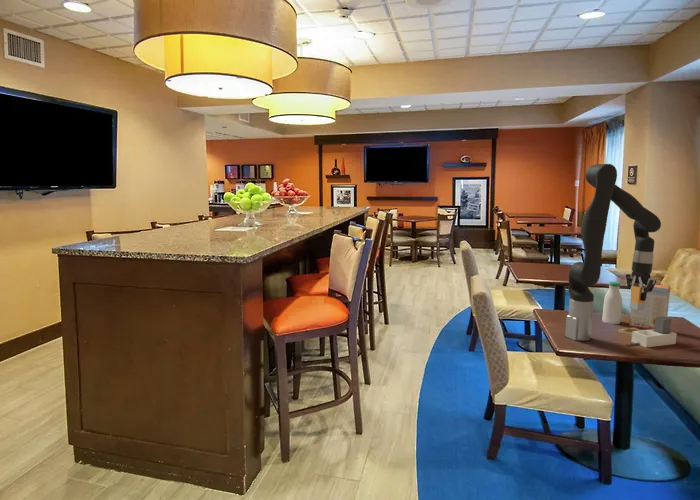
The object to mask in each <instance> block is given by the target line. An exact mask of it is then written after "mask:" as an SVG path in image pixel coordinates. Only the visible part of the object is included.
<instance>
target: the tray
mask: <svg viewBox="0 0 700 500" xmlns="http://www.w3.org/2000/svg"><path fill="white" fill-rule="evenodd" d="M642 330H643V329H641V328H640V329H639V328H638V327H629V328H619V329H618V333H621V334H622V335H626V336H629V337H630V338H632V331H642Z"/></svg>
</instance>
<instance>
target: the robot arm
mask: <svg viewBox="0 0 700 500" xmlns="http://www.w3.org/2000/svg"><path fill="white" fill-rule="evenodd" d="M584 173H585V175H584V177H585V181H586V183H588V184H589V185H590V186H592V187H593V188H594V189H595V190H594V196H593V198H592V201H591V202H590V204H589V206H588V207H587V209H586V210H585V212H584V214H583V215H582V220H581V227H580V236H581V239H582V243H583V247H584V254H585V255H584V260H583V261H584V262H582V261H576V262H575V263H573V264H572V265H571V267H570V269H569V271H568V272H569V273H568V293H569V303H568V305H569V306H568V315H566V320H565V331H564V332H565V334H564V336H565V337H567V338H569V339H571V340H573V341H581V342H582V341H583V342H584V341H590V340H591V335H592V334H591V333H592V321H593V312H594V311H593V310H594V299H595V295H594V293H593V292H592V290H590V287H593V286H594V285H595V286H596V285H597V283H598V282H599V279H600V277H601V271H602V270H601V268H602V254H603V253H602V251H603V245H604V239H605V234H606V230H607V225H608V223H607V222H608V216H609V212H610V211H609V210H610V206H611V202H613V204H614V205H616V206H617V207H618V208H619V209H620V211H622V213H624V214H625V216H627V218H629V219H631V220H634V221H633V224H632V226H633V233H634V240H635V245H634V251H633V254H632V255H633V256H632V264H631V274H629V273H627V274H625V279H626V285H627V288H629V289H630V293H631V292H632V286H639V285H640V287H641V297H640V301H645V300H646V296H647V292H652V290H653V288H654V286H655V285H657V284H656V283H657V280H656V279H653V278H652V277H651V274H652V272H653V263H654V250H655V240H654V238H652V237H651V236H650V233H657V232H658V231H659V230H660V229H661V227H662V221H661V219H660V218H659V217H658V215H656V214H655V213H653V212H652V211H650V210H649V209H647V208H646V207H644V206H643V204H641V202H640V201H639V200H638V199H637V198H636V197H635V196H633V195H632V194H631V193H629V192H627V191H626V190H624V189H622V188H621V187H620V186H618V185H617V179H618V171H617V168H616V166H615V165H613V164H612V163H600V164H599V163H598V164H592V165H590V166H589V167H588V168H587V169H586V170H585V172H584ZM644 284H645V285H644ZM644 288H645V290H644Z"/></svg>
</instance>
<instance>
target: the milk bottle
mask: <svg viewBox="0 0 700 500" xmlns="http://www.w3.org/2000/svg"><path fill="white" fill-rule="evenodd" d="M608 287H609V288H608V290H607V292H606V293H605V296H604V297H603V298H604V299H603V306H602V307H603V308H602V318H601V320H602V322H603V323H606V324H610V325H618V324H620V323H621V320H622V319H621V317H622V309H623V307H622V306H623V298H622V295H621V291H620V288H621V282H617V281H610V282H608Z"/></svg>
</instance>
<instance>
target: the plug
mask: <svg viewBox="0 0 700 500" xmlns="http://www.w3.org/2000/svg"><path fill="white" fill-rule="evenodd" d="M644 290H645V288H644ZM640 297H641V287H640V286H632V292H631V291H630V301H629V308H630V309H631V308H632V309H635V310H644V309H645V301H646V300H645V301H640Z"/></svg>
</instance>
